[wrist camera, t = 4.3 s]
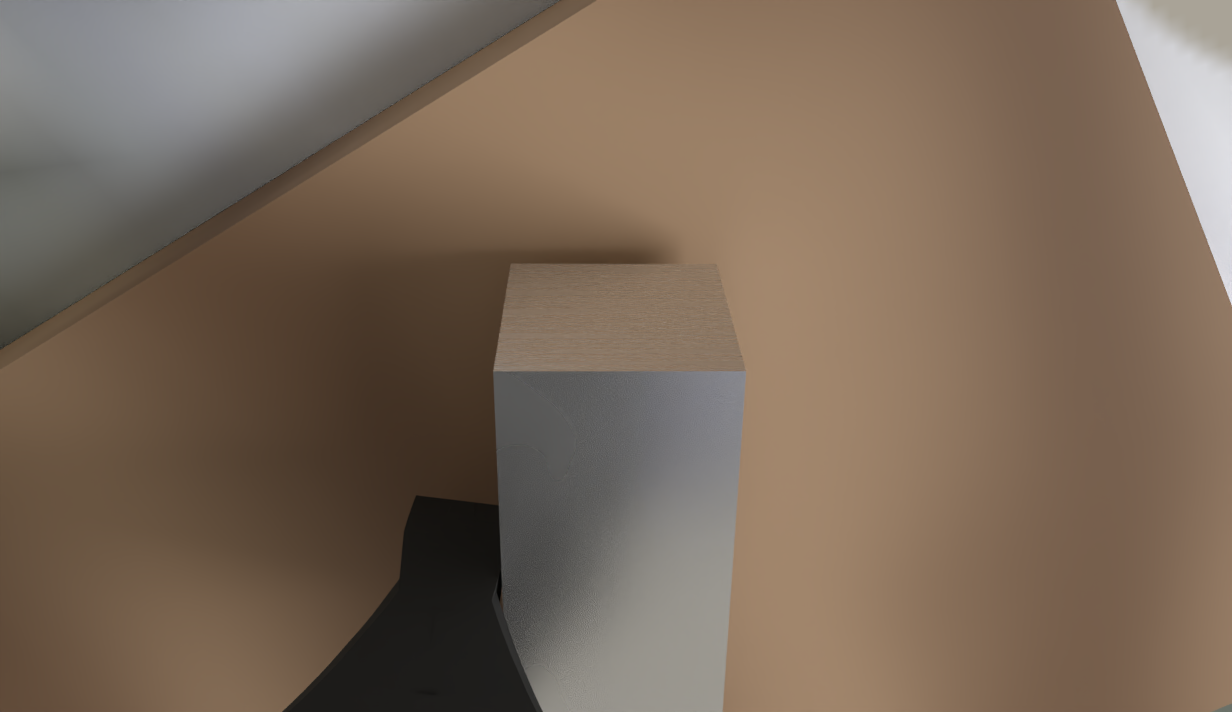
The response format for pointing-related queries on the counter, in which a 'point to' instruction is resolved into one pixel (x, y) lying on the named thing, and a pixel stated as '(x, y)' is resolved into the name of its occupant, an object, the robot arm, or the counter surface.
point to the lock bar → (618, 482)
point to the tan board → (769, 343)
